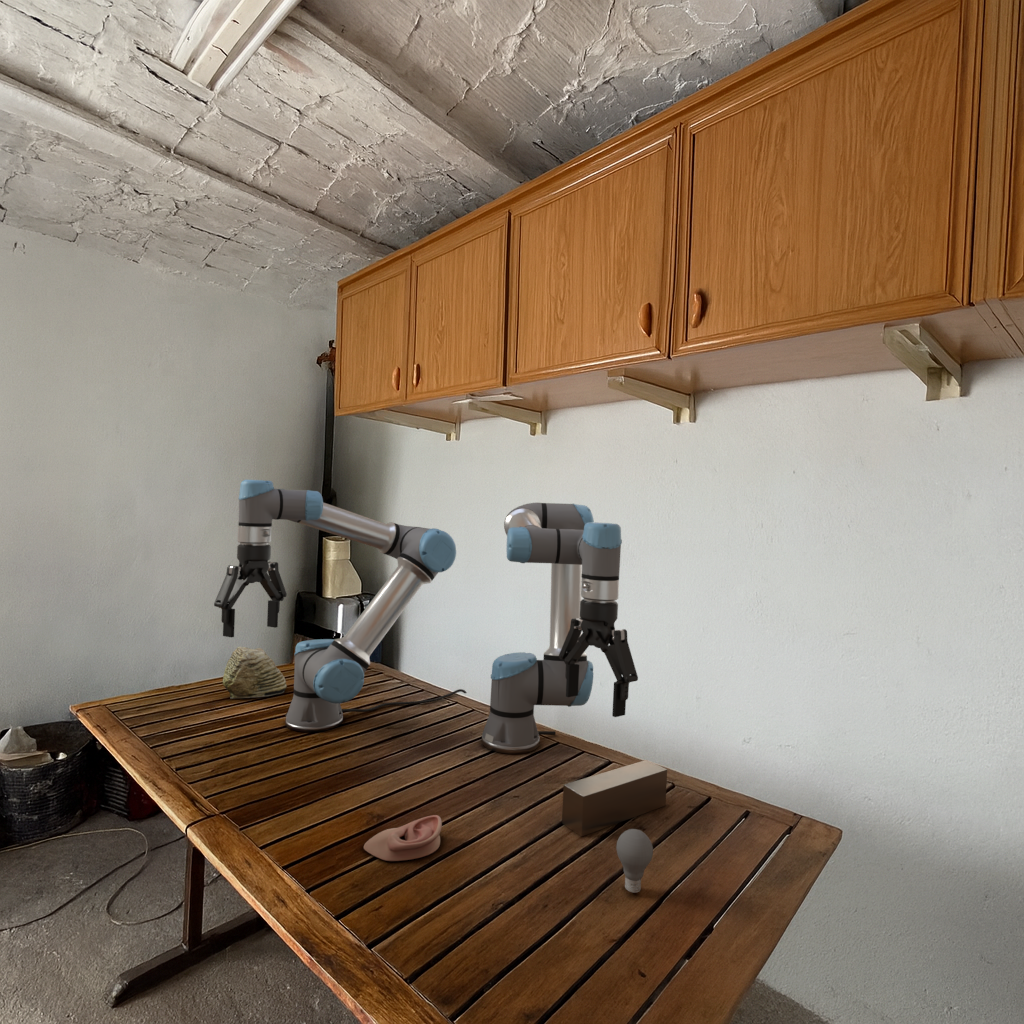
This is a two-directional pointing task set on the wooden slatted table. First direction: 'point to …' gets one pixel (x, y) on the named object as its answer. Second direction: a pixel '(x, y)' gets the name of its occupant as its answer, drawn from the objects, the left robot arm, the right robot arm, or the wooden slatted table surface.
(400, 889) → the wooden slatted table surface
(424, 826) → the anatomical model
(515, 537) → the right robot arm
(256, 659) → the fossil
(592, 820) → the bar
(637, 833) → the light bulb
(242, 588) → the left robot arm
